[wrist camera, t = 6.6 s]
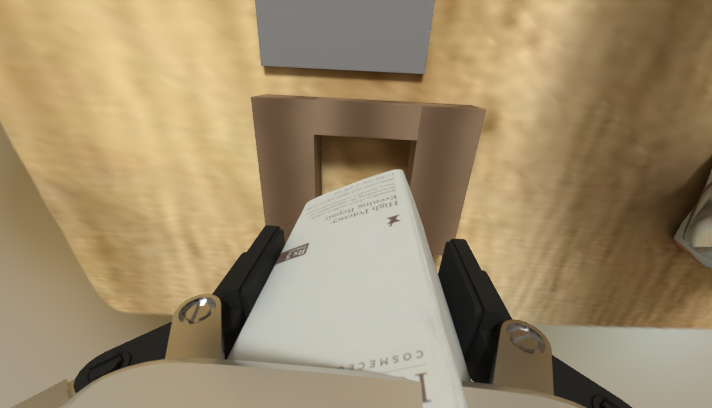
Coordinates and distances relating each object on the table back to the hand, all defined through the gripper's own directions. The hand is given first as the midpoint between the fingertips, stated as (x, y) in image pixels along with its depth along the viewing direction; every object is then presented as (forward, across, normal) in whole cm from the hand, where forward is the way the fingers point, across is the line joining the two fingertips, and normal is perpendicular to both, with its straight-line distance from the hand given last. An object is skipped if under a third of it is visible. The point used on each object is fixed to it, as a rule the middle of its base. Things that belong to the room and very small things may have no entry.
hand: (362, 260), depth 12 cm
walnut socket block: (+13, 0, 0) cm, 13 cm away
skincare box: (+5, 0, 0) cm, 5 cm away
